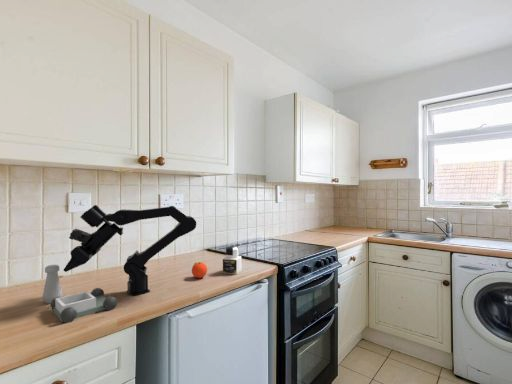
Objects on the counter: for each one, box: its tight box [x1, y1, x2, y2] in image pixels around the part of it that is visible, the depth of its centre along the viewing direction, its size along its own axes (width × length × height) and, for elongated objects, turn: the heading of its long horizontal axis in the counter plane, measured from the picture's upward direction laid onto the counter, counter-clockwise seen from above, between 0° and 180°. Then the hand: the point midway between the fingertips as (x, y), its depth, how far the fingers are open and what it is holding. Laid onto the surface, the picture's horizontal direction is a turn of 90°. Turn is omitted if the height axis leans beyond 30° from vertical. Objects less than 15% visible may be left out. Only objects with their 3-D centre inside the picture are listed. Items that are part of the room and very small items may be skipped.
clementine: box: [191, 261, 208, 279], centre depth 129 cm, size 8×7×7 cm
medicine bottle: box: [222, 246, 243, 275], centre depth 137 cm, size 7×7×12 cm
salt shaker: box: [42, 264, 63, 305], centre depth 102 cm, size 6×6×13 cm
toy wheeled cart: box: [49, 287, 118, 323], centre depth 95 cm, size 16×14×4 cm
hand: (68, 267), depth 103 cm, fingers open, 9 cm apart
